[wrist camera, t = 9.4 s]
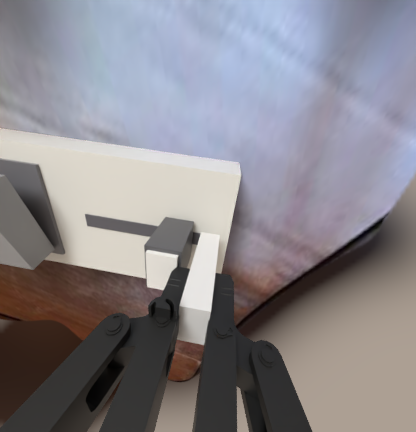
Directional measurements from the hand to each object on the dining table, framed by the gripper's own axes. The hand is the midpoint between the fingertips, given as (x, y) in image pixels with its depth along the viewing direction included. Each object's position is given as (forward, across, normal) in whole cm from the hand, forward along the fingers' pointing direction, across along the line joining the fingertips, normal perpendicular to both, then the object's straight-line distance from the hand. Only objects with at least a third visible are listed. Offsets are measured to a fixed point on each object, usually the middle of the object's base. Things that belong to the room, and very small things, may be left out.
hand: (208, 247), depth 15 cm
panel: (+6, -14, 0) cm, 15 cm away
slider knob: (+1, -3, 0) cm, 3 cm away
